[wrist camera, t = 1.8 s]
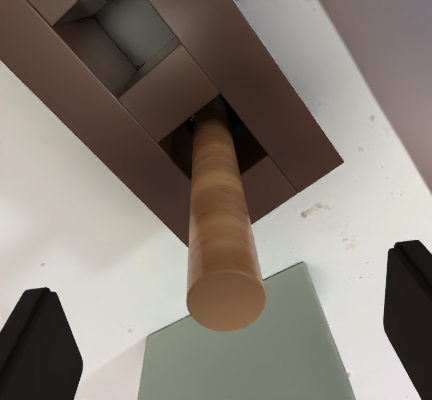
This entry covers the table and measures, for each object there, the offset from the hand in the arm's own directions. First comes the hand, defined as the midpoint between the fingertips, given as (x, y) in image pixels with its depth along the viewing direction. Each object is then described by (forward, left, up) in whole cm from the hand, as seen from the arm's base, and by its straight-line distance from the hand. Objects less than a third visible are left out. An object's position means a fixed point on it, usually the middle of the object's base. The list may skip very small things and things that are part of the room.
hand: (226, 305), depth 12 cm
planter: (+21, 0, -20) cm, 29 cm away
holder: (-3, -2, -20) cm, 20 cm away
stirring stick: (0, 0, -20) cm, 20 cm away
